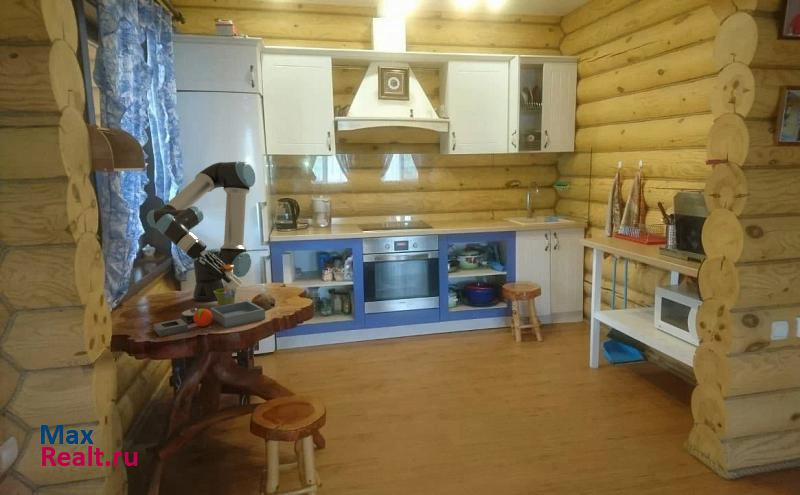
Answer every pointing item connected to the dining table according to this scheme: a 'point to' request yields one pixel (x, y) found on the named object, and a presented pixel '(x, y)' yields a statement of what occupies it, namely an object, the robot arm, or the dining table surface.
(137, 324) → the dining table surface
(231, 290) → the lock pin
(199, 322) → the red tomato
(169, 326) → the tensioner
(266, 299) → the bread roll
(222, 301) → the plant pot
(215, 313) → the tray
